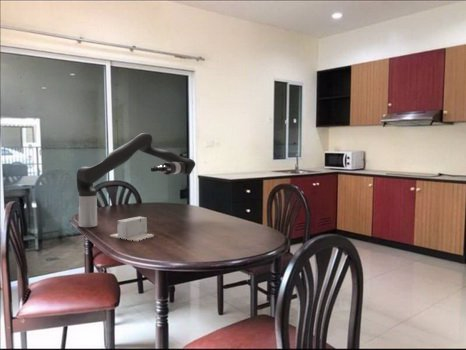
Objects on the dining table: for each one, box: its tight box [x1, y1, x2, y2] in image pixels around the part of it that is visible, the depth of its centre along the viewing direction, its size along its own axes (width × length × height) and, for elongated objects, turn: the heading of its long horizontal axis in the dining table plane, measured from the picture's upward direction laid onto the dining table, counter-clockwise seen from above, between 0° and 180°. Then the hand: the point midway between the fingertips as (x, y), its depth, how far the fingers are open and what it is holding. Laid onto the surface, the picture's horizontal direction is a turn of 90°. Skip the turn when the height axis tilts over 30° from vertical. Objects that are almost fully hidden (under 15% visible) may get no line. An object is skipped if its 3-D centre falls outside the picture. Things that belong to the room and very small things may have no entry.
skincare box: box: [116, 215, 148, 238], centre depth 189 cm, size 8×6×15 cm
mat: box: [109, 232, 155, 242], centre depth 189 cm, size 18×12×1 cm, turn 61°
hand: (151, 169), depth 211 cm, fingers closed
